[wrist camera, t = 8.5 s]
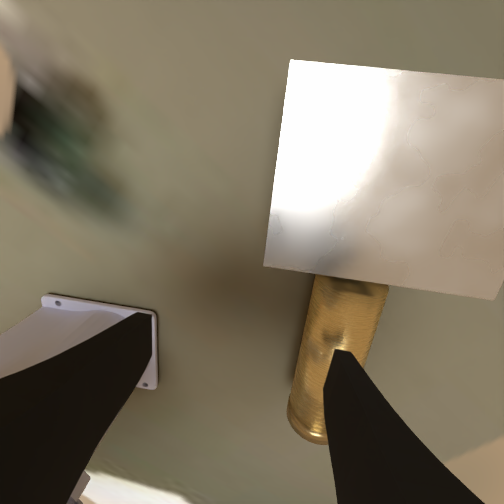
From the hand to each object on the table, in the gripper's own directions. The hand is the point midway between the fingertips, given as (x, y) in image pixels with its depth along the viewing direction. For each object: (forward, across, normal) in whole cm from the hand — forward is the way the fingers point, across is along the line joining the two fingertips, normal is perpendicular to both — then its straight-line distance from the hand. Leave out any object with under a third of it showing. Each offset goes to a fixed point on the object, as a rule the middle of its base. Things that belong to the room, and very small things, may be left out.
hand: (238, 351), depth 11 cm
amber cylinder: (+8, -6, +5) cm, 11 cm away
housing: (+9, -5, -6) cm, 13 cm away
